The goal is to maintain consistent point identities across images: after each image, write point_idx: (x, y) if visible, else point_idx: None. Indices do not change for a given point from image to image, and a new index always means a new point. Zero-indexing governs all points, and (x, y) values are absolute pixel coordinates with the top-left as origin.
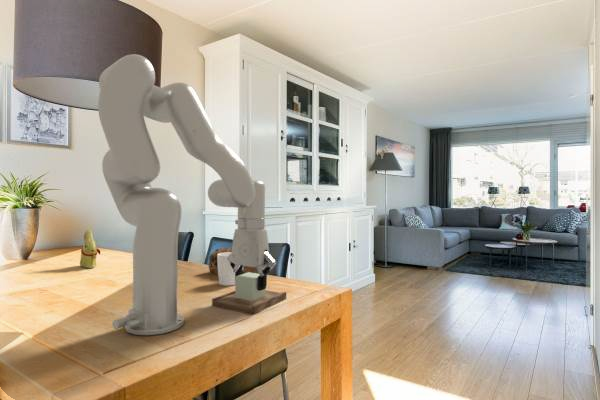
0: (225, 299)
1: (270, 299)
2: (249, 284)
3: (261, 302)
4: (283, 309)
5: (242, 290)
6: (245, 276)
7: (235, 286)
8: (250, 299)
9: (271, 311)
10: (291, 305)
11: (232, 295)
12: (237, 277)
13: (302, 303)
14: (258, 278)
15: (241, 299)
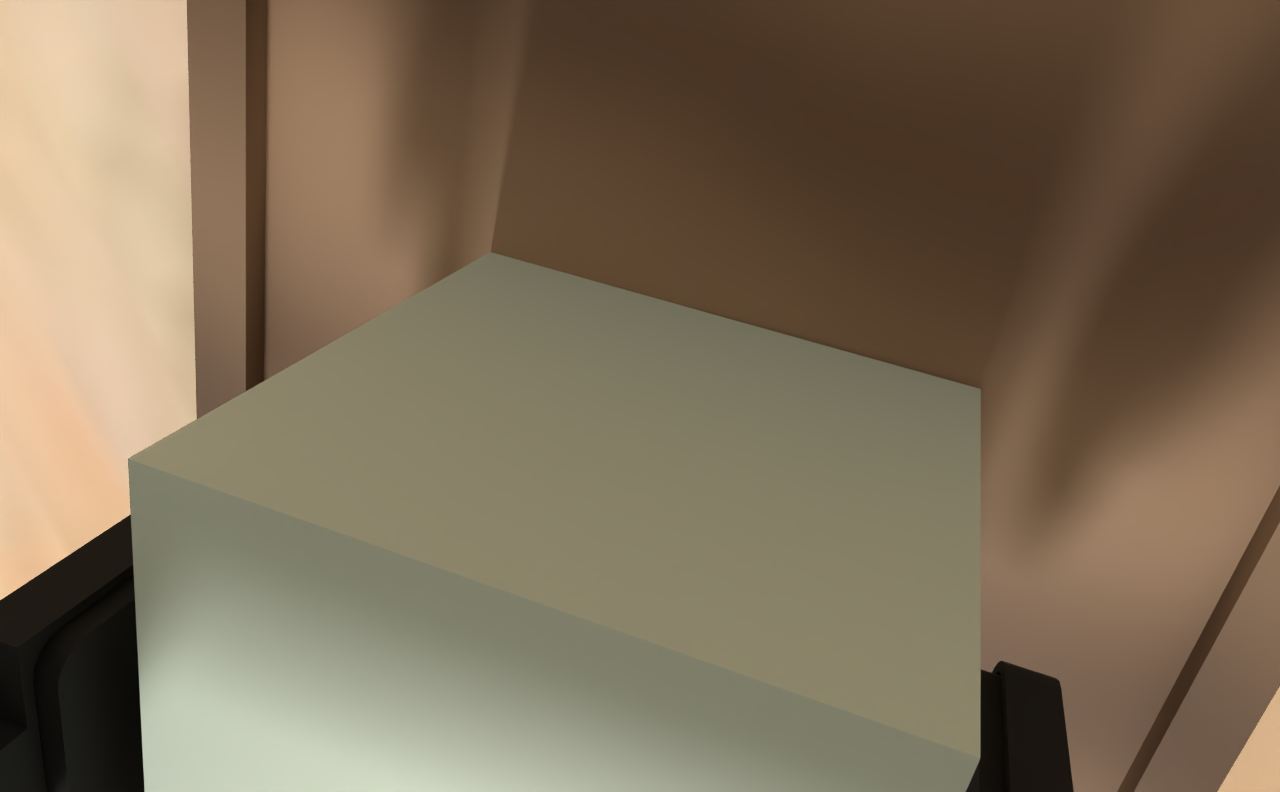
0: (1206, 201)
1: (201, 369)
2: (394, 415)
3: (232, 120)
4: (50, 233)
5: (721, 408)
6: (576, 788)
7: (976, 524)
8: (542, 277)
9: (139, 68)
10: (64, 449)
11: (1136, 571)
12: (868, 692)
13: (2, 562)
14: (65, 594)
15: (783, 310)
